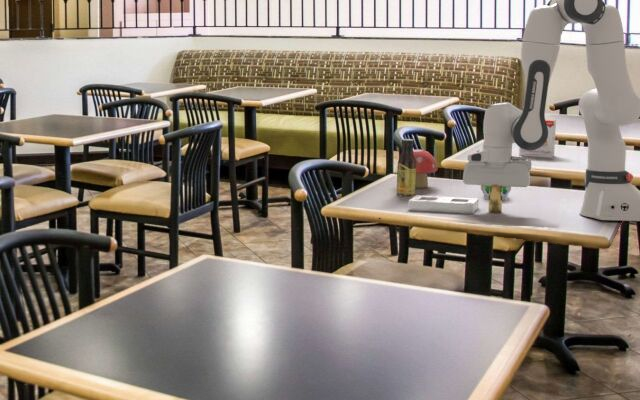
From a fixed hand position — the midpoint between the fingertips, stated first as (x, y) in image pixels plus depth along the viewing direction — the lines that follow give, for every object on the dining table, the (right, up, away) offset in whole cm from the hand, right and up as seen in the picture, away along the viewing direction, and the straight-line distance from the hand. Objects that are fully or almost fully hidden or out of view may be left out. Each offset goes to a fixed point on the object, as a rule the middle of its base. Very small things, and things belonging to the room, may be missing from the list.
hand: (495, 200), depth 287 cm
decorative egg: (+5, 0, +26) cm, 26 cm away
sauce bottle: (-25, +1, +27) cm, 37 cm away
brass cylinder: (0, -4, +1) cm, 4 cm away
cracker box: (+38, +13, +110) cm, 117 cm away
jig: (-15, -3, +5) cm, 16 cm away
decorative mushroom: (-20, +3, +41) cm, 45 cm away
